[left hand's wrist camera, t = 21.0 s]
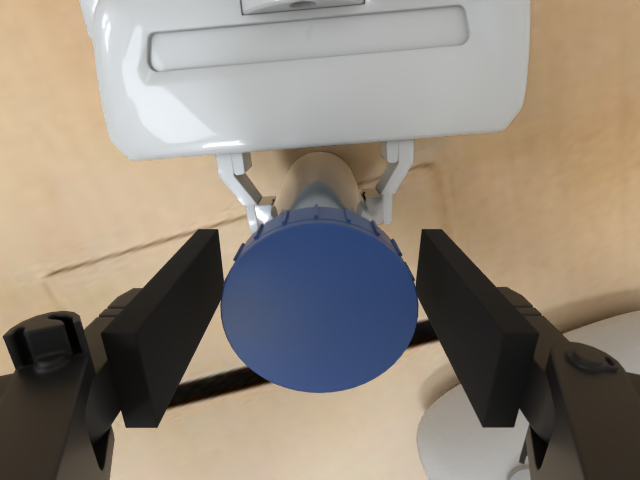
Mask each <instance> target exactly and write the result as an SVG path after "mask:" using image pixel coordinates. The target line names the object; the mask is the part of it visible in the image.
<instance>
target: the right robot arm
mask: <svg viewBox="0 0 640 480" xmlns="http://www.w3.org/2000/svg"><path fill="white" fill-rule="evenodd" d="M79 2H80V6H81V10H82V13H83V17H84V21H85V24H86V28H87V31H88V34H89V36H90V38H91V40H92V42H93V46H94V55H95V64H96V72H97V80H98V86H99V92H100V98H101V103H102V108H103V113H104V118H105V123H106V127H107V131H108V134H109V137H110V140H111V142H112V143H113V145H114V146H116V147H117V148H118V149H119V150H120V151H121V152H122V153H123V154H124V155H125V156H126V157H127V158H129V159H130V160H132V161H147V160H159V159H172V158H184V157H197V156H209V155H216V161H217V166H218V172H219V177H220V178H221V179H222V181H223V182H224V183H225V184H226V185H227V187H228V188H229V189H230V190H231V192H232V193H233V194H234V195H235V196H236V198H237V199H238V200H239V201H240V202H241V204H242V205H243V206H246V212H247V218H248V224H249V230H250V232H251V234H253V233H255V232H256V231H257V229H258V227H259V225H260V224H261V223H262V224H263V225H264V223H265V221H266V218H267V216H268V214H269V212H270V209H271V207H272V205H273V203H274V201H275V198H276V196H268V197H262V195H261V194H260V193H259V191H258V190H257V189H256V187H255V186H254V184H253V183H252V182H251V180H250V179H249V178H248V176H247V175H246V173H245V172H246V171H247V170H248V169H249V168H250V167H251V166H252V162H251V155H250V152H259V151H271V150H284V149H296V148H309V147H321V146H334V145H346V144H359V143H371V142H380V145H381V156H382V157H383V158H384V159H385V160H386V161H388V164H387V166H386V168H385V170H384V172H383V174H382V176H381V178H380V180H379V181H378V183H377V185H376V188H372V189H362V195H363V198H364V200H365V202H366V204H367V207H368V209H369V211H370V213H371V216H372V218H373V220H374V221H375V223H376V225H381V224H391V223H392V194H395V193H396V191H397V189H398V188H399V186H400V184H401V182H402V181H403V179H404V177H405V176H406V174H407V172H408V171H409V169H410V167H411V166H412V164H413V162H414V139H421V138H434V137H446V136H458V135H471V134H483V133H495V132H501V131H503V130H505V129H506V128H507V127H508V126H509V124H510V123H511V122H512V121H513V119H514V118H515V117H516V116H517V114H518V113H519V112H520V110H521V109H522V106H523V103H524V99H525V93H526V86H527V77H528V66H529V53H530V28H531V0H79Z"/></svg>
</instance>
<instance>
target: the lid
mask: <svg viewBox="0 0 640 480" xmlns="http://www.w3.org/2000/svg"><path fill="white" fill-rule="evenodd" d="M401 256H402V253H401V251H400V249H399V248H398V246H397V244H396V242H395V240H394V239H392V240H391V239H390V238H389V237H388V236H387V235H386V234H385V232H383V231H382V230H381V229H380V228H379V227H378V226H377V225H376V223H375V221H374V220H372V221H371V222H370V221H369V220H367V219H366V218H364V217H362V216H359V215H357V214H355V213H352V212H349V210H348V208H345V209H344V210H343V209H337V208H332V207H318V204H315V207H307V208H302V209H297V210H293V211H290V212H289V210H285V212H284V214H281V215H279V216H277V217H275V218H273V219H271V220H270V221H268V222H267V223H265V224H264V225H263V224H262V223H261V224H260V225H259V227H258V229H257V231H256V232H255V233H253V235H252V236H251V237H250V238H249V239H248V241H247V242H246V243H245V244H244V243H242V245H241V246H240V248H239V250H238V252H237V254H236V255H235V257H234V259H233V260H234V261H235V263H234V265H233V267H232V268H231V270H230V272H229V274H228V275H227V277H226V279H225V281H224V283H223V286H224V288H223V291H222V296H221V319H222V324H223V328H224V331H225V334H226V337H227V339H228V341H229V343H230V345H231V347H232V348H233V350H234V351H235V353H236V354H237V355H238V357H239V358H240V359H241V360H242V361H243V362H244V363H245V364H246V365H247V366H248V367H249V368H250V369H252V370H253V371H254V372H255V373H257V374H258V375H260V376H261V377H263V378H264V379H266V380H268V381H270V382H272V383H274V384H277V385H280V386H282V387H285V388H289V389H293V390H296V391H303V392H312V393H327V392H336V391H343V390H347V389H350V388H354V387H357V386H359V385H362V384H365V383H367V382H369V381H371V380H373V379H374V378H376V377H378V376H379V375H381V374H382V373H384V372H385V371H386V370H387V369H389V368H390V367H391V366H392V365H393V364H394V363H395V362H396V361H397V360H398V359H399V358H400V357H401V355H402V354H403V352H404V351H405V350H406V348H407V347H408V345H409V343H410V341H411V339H412V337H413V334H414V331H415V328H416V324H417V318H418V297H417V292H416V288H415V284H414V281H415V279H414V277H413V275H412V273H411V271H410V269H409V267H408V265H407V264H406V262H404V261H403V259H402V257H401Z"/></svg>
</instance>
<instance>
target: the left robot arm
mask: <svg viewBox="0 0 640 480" xmlns="http://www.w3.org/2000/svg"><path fill="white" fill-rule="evenodd" d="M223 283H224V278H223V269H222V260H221V251H220V242H219V233H218V229H198V230H197V231H196V232H195V233H194V235H193V236H192V237H191V238H190V239H189V240H188V241H187V242H186V243H185V244H184V245H183V246H182V247H181V248H180V249H179V250H178V251H177V253H176V254H175V255H174V256H173V257H172V258H171V259H170V260H169V261H168V262H167V263H166V264H165V265H164V266H163V267H162V268H161V269H160V271H159V272H158V273H157V274H156V275H155V276H154V277H153V278H152V279H151V280H150V281H149V282H148V283H147V284H146V285H145V286H144V287H143V288H133V289H131V290H130V291H128V292H126V293H124V294H122V295H120V296H119V297H117V298H116V299H115V300H114V301H113V302H112V303H111V304H110V305H109V306H108V309H105V310H104V311H103V312H102V313H101V314H100V315H99V317H97V318H96V319H95V320H94V321H93V322H92V323H91V324H90V325H89V326H88V327H86V328H85V329H83V326H82V322H81V319H80V316H79V315H78V314H76V313H74V312H69V311H58V312H50V313H46V314H42V315H38V316H35V317H33V318H30V319H28V320H25V321H23V322H21V323H19V324H18V325H16V326H14V327H13V328H11V329H10V330H9V331H8V332H7V333H6V334H5V335H4V336H3V338H4V341H5V343H6V346H7V348H8V351H9V353H10V356H11V359H12V361H13V364H14V366H15V369H16V370H15V372H14V374H9V375H4V376H0V480H109V479H110V471H111V463H112V455H113V447H114V434H113V429H112V426H111V424H112V423H113V421H114V420H115V418H116V417H117V415H118V414H119V412H120V410H121V412H122V415H123V419H124V423H125V426H126V428H157V427H158V425H159V423H160V421H161V419H162V417H163V415H164V413H165V411H166V409H167V407H168V405H169V403H170V401H171V399H172V397H173V395H174V393H175V391H176V389H177V387H178V385H179V383H180V381H181V379H182V377H183V375H184V373H185V371H186V369H187V367H188V365H189V363H190V361H191V359H192V357H193V355H194V353H195V351H196V349H197V347H198V345H199V343H200V341H201V339H202V337H203V335H204V333H205V331H206V329H207V327H208V325H209V323H210V321H211V319H212V317H213V315H214V313H215V311H216V309H217V307H218V305H219V303H220V301H221V296H222V291H223V288H224V286H223ZM415 288H416V292H417V297H418V299H419V301H420V303H421V305H422V307H423V309H424V311H425V313H426V315H427V317H428V319H429V321H430V323H431V325H432V327H433V329H434V331H435V333H436V335H437V337H438V339H439V341H440V343H441V345H442V347H443V349H444V351H445V353H446V355H447V357H448V359H449V361H450V363H451V365H452V367H453V369H454V371H455V373H456V375H457V377H458V379H459V381H460V383H461V385H462V387H463V389H464V391H465V393H466V395H467V397H468V399H469V401H470V403H471V405H472V407H473V409H474V411H475V413H476V415H477V417H478V419H479V421H480V423H481V425H482V427H483V428H514V426H515V423H516V419H517V415H518V412H519V409H520V410H521V412H522V413H523V415H524V416H525V418H526V419H527V421H528V423H529V426H528V429H527V433H526V436H525V440H524V443H523V447H522V450H521V454H520V459H519V463H521V464H524V463H525V460H526V457H527V456H528V462H529V470H530V478H531V480H640V374H635V373H630V372H626V371H625V369H624V368H623V367H622V366H621V364H620V363H619V362H618V361H617V360H616V359H614V358H613V357H612V356H610V355H609V354H607V353H606V352H603V351H601V350H599V349H597V348H595V347H593V346H589V345H586V344H583V343H579V342H570V341H569V340H568V339H567V338H566V337H565V336H564V335H563V334H562V333H561V332H559V331H558V330H557V329H556V328H555V327H554V326H553V325H552V324H551V323H550V322H549V321H548V320H547V319H546V318H545V317H544V316H541V313H540V312H539V311H538V310H537V309H536V308H533V305H531V304H530V303H529V302H528V301H527V300H526V299H525V298H524V297H523V296H522V295H520V294H518V293H517V292H515V291H513V290H511V289H509V288H507V287H496V286H495V285H494V284H493V283H492V282H491V281H490V280H489V279H488V278H487V277H486V276H485V275H484V274H483V273H482V272H481V271H480V269H479V268H478V267H477V266H476V265H475V264H474V263H473V262H472V261H471V260H470V259H469V258H468V257H467V256H466V255H465V254H464V253H463V251H462V250H461V249H460V248H459V247H458V246H457V245H456V244H455V243H454V242H453V241H452V240H451V239H450V238H449V237H448V236H447V235H446V233H445V232H444V231H443V230H442V229H422V233H421V242H420V251H419V260H418V269H417V278H416V287H415Z"/></svg>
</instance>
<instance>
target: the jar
mask: <svg viewBox="0 0 640 480" xmlns="http://www.w3.org/2000/svg"><path fill="white" fill-rule="evenodd" d="M315 204H318V207H332V208H337V209H343V210H344V209H345V208H348V210H349V212H352V213H355V214H357V215H359V216H362V217H364V218H366V219H367V220H369V221H370V222H371V221H372V220H373V218H372V216H371V213H370V211H369V209H368V207H367V204H366V202H365V200H364V198H363V195H362V193H361V191H360V189H359V186H358V184H357V182H356V180H355V178H354V175H353V173H352V171H351V169H350V168H349V166H348V165H347V164H346V163H345V162H344V161H343V160H342V159H341V158H339V157H338V156H336V155H334V154H331V153H328V152H312V153H308V154H306V155H303V156H302V157H300V158H299V159H297V160H296V161H295V162H294V163H293V164H292V165H291V167H290V168H289V170H288V172H287V174H286V176H285V179H284V181H283V183H282V185H281V187H280V190H279V192H278V194H277V196H276V198H275V201H274V203H273V205H272V207H271V209H270V212H269V214H268V216H267V218H266V221H265V223H267V222H268V221H270V220H271V219H273V218H275V217H277V216H279V215H281V214H284V212H285V210H289V212H290V211H293V210H297V209H302V208H307V207H315ZM265 223H264V224H265Z"/></svg>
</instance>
